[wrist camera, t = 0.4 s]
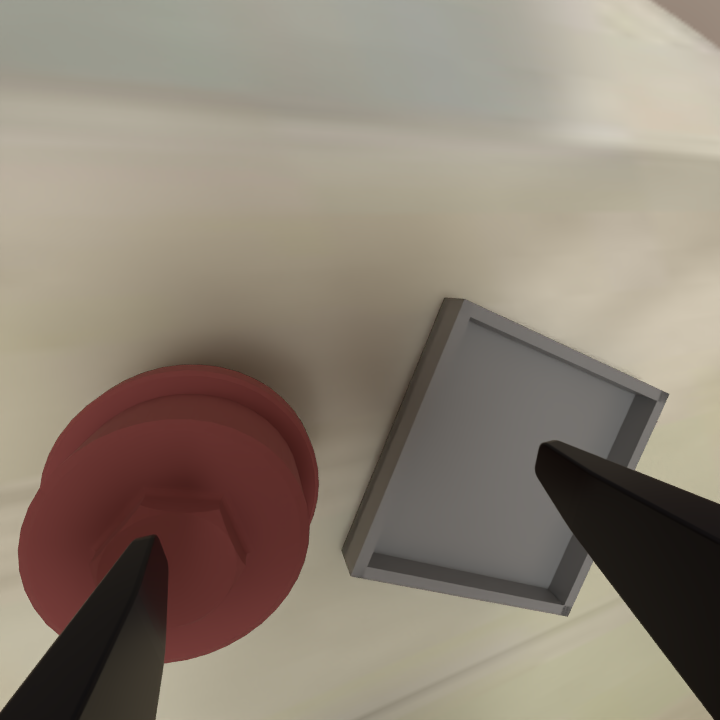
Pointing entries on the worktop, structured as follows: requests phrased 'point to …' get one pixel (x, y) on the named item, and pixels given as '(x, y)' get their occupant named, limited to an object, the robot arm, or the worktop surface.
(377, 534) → the tray
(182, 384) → the mechanical component
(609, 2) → the worktop surface
